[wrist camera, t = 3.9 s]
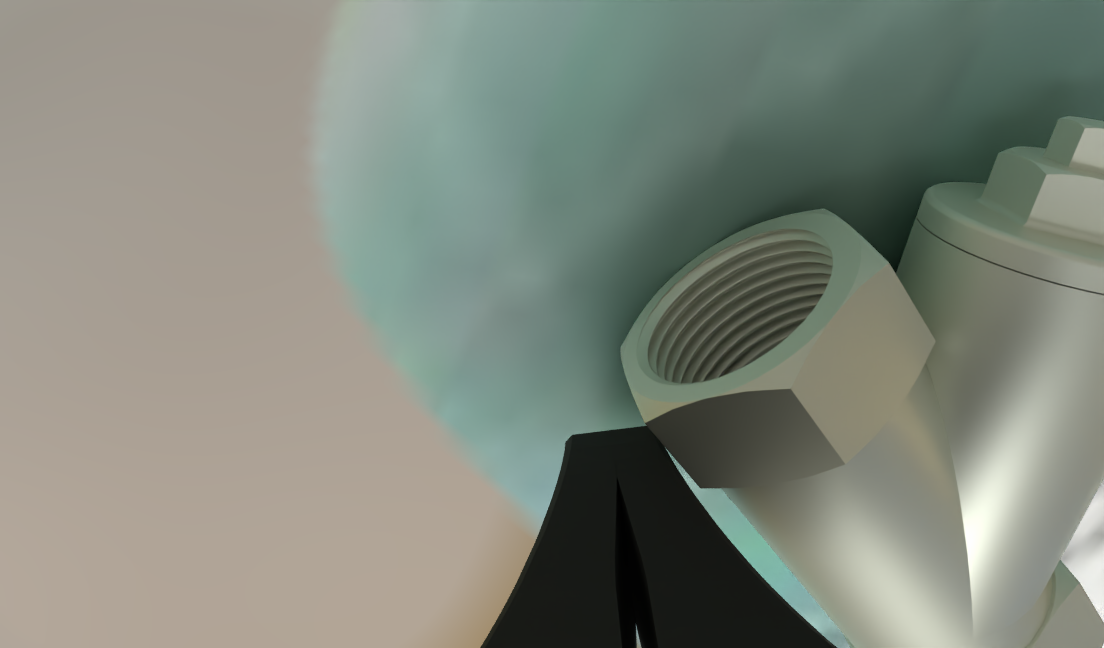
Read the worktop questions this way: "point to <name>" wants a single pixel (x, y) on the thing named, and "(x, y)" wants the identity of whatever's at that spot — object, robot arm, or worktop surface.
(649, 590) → the robot arm
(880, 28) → the worktop surface
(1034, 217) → the pipe fitting
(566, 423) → the worktop surface
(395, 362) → the worktop surface
